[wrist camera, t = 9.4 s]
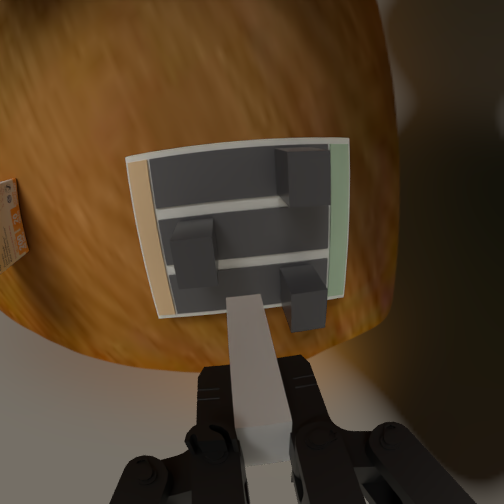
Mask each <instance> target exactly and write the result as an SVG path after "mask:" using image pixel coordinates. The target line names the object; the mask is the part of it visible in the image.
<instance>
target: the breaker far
mask: <svg viewBox="0 0 504 504" xmlns="http://www.w3.org/2000/svg"><path fill="white" fill-rule="evenodd" d="M280 281H281V304H282V307H283V310H284V313H285V316H286V319H287V322H288V325H289V327H290V330H291V333H293V332H300V331H306V330H312V329H318V328H324V327H325V321H326V309H327V295H328V289H327V287H326V286H325V284H324V283H323V281H322V280H321V278H320V276H319V275H318V273H317V272H316V270H315V269H314V267H313V266H312V264H310V265H301V266H293V267H284V268H280Z"/></svg>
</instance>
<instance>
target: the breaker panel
mask: <svg viewBox="0 0 504 504" xmlns="http://www.w3.org/2000/svg"><path fill="white" fill-rule="evenodd" d="M292 147H313V148H319V149H325V150H330V164H331V205H323V206H309V207H296V208H289V207H288V206H287V204H286V203H285V202H284V201H283V200H282V199H281V198H280V197H279V196H278V195H277V183H276V165H275V148H292ZM125 159H126V167H127V174H128V180H129V187H130V193H131V199H132V205H133V210H134V216H135V221H136V226H137V231H138V236H139V241H140V246H141V250H142V255H143V259H144V263H145V268H146V272H147V276H148V280H149V284H150V288H151V292H152V296H153V299H154V303H155V307H156V310H157V314H158V317H159V318H173V317H185V316H197V315H208V314H219V313H227V308H226V298H228V297H237V296H246V295H255V294H261V298H262V302H263V306H264V308H272V307H280V306H282V304H281V281H280V268H284V267H293V266H301V265H310V264H312V266H313V267H314V269H315V270H316V272H317V273H318V275H319V276H320V278H321V280H322V281H323V283H324V284H325V286H326V287H327V289H328V295H327V300H329V299H335V298H342V297H344V288H345V277H346V264H347V250H348V231H349V202H350V149H349V138H341V137H304V138H275V139H258V140H244V141H232V142H221V143H212V144H203V145H195V146H187V147H180V148H173V149H166V150H160V151H154V152H148V153H142V154H137V155H132V156H128V157H125ZM205 218H213V219H214V228H215V236H216V244H217V252H218V286H210V287H200V288H190V289H179V288H178V283H177V278H176V274H175V269H174V264H173V258H172V253H171V248H170V242H169V241H170V239H171V237H172V234H173V232H174V230H175V228H176V225H177V223H178V222H179V221H188V220H196V219H205Z"/></svg>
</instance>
